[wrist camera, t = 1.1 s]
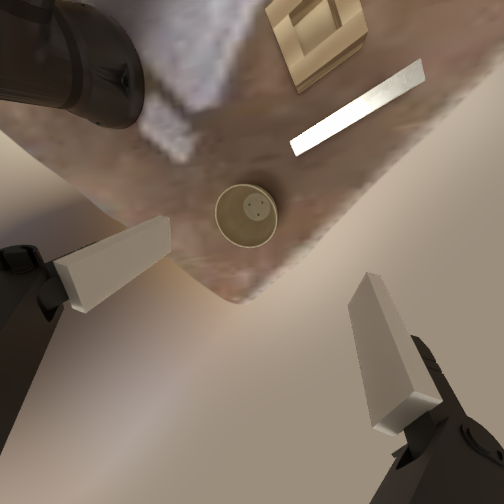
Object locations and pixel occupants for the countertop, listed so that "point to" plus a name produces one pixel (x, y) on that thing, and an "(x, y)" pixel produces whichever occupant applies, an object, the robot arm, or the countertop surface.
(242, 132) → the countertop surface
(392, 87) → the backstop rail
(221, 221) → the flower pot
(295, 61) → the block
